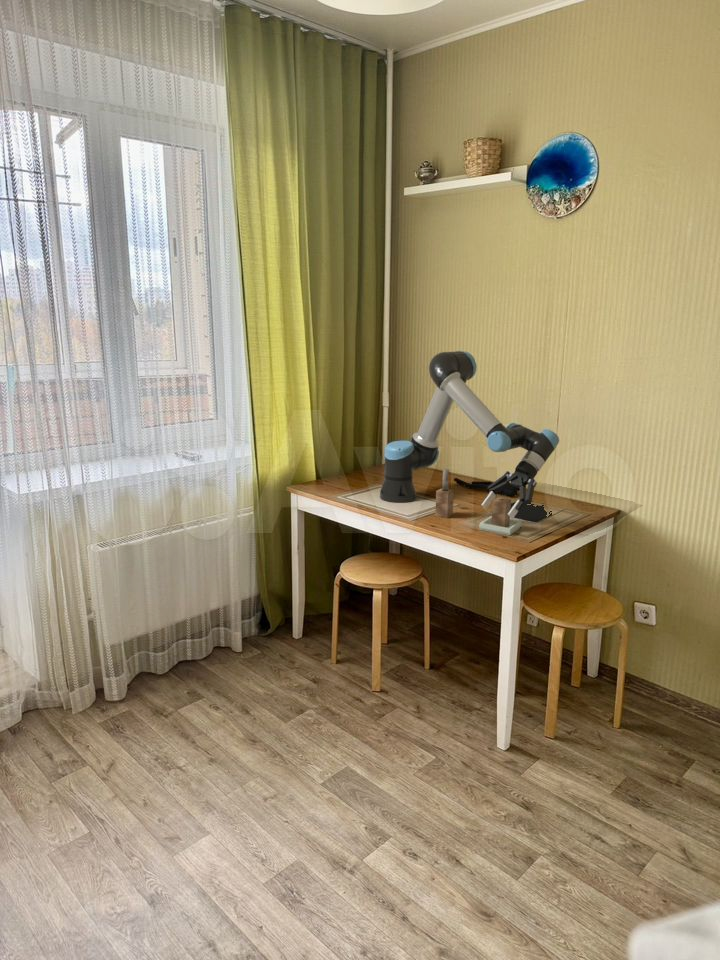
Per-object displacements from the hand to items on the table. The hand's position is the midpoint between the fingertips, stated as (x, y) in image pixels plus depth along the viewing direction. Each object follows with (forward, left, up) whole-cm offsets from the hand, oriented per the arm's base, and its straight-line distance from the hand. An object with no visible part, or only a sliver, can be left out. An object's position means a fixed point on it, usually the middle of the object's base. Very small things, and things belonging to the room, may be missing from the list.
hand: (496, 511), depth 250 cm
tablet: (+2, +30, -7) cm, 31 cm away
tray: (+1, +2, -7) cm, 7 cm away
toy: (-25, +50, -7) cm, 56 cm away
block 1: (-23, +5, -7) cm, 24 cm away
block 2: (+1, +2, -6) cm, 6 cm away
